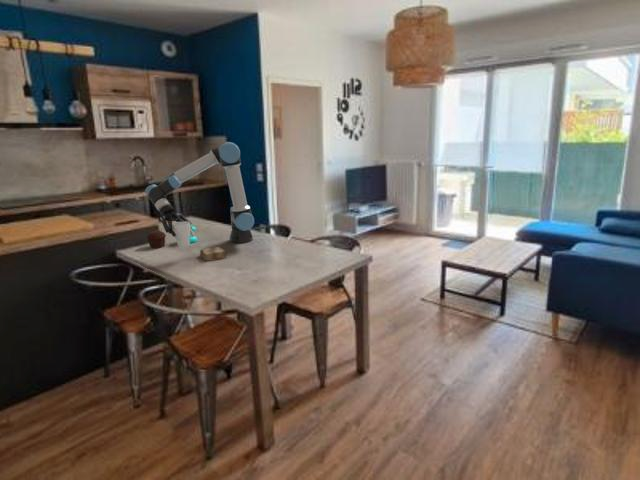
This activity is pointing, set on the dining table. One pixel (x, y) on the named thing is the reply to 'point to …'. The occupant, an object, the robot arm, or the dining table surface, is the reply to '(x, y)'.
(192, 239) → the donuts
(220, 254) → the pedestal
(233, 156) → the robot arm
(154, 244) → the muffin
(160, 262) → the dining table surface
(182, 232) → the foam cup
